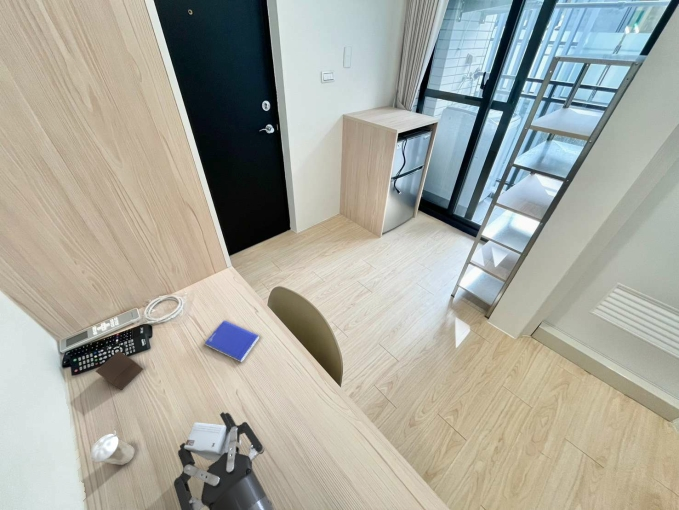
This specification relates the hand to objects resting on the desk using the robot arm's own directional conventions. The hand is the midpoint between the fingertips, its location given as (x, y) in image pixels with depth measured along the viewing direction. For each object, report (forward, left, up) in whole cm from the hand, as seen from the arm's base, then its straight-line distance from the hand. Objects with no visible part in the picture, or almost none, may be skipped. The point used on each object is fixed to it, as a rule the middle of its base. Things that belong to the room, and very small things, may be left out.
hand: (203, 429), depth 51 cm
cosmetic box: (0, -2, -10) cm, 10 cm away
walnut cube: (-9, +33, -13) cm, 37 cm away
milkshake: (-15, +14, -14) cm, 25 cm away
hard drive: (+15, +20, -14) cm, 29 cm away
